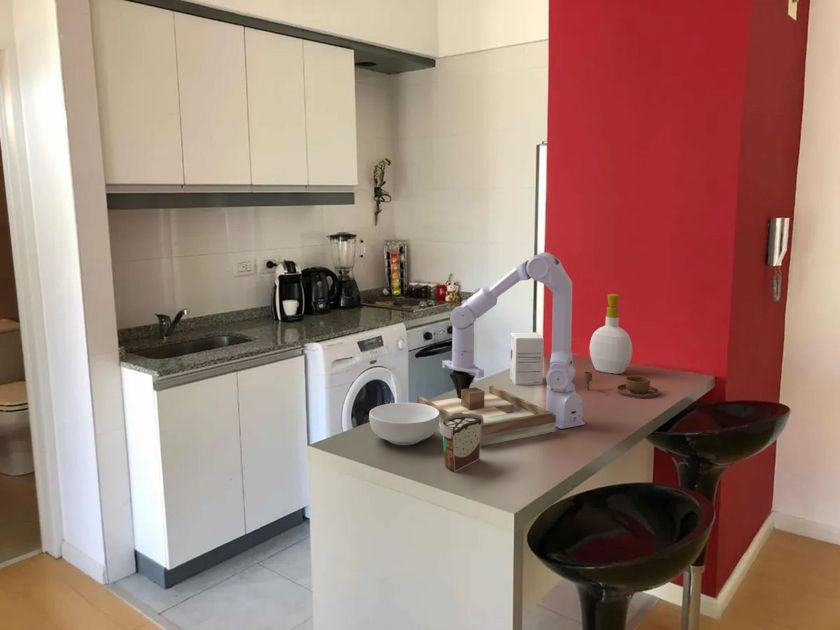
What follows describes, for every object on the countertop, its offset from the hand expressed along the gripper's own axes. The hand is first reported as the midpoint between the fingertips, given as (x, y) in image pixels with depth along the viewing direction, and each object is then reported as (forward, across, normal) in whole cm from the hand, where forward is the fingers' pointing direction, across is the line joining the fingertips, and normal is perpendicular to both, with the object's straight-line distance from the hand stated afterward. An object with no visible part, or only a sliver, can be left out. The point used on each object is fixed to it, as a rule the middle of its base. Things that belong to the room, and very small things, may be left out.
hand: (462, 398), depth 189 cm
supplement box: (+4, +9, -36) cm, 37 cm away
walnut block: (+1, -5, +1) cm, 6 cm away
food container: (+4, -26, +26) cm, 38 cm away
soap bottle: (+4, -1, -66) cm, 66 cm away
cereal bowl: (+4, -8, +26) cm, 28 cm away
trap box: (+3, -11, +2) cm, 12 cm away
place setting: (+4, -17, -51) cm, 54 cm away
